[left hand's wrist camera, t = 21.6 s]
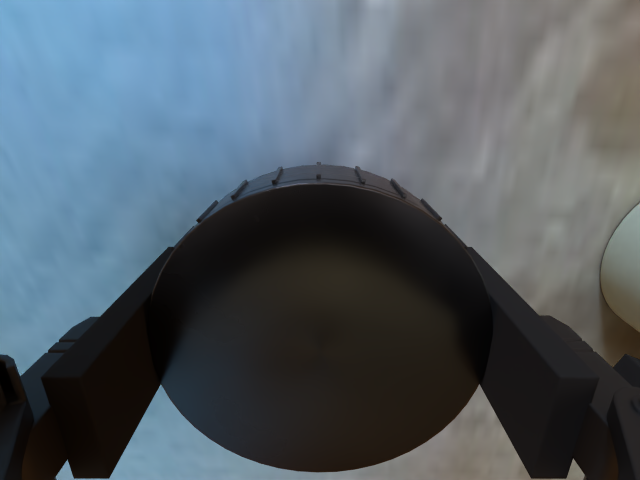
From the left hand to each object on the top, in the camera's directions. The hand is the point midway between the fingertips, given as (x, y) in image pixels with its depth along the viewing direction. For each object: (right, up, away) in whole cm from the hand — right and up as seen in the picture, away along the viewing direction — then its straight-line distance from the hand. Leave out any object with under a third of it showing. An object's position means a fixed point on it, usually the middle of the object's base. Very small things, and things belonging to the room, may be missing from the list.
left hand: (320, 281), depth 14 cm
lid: (0, -1, -3) cm, 4 cm away
